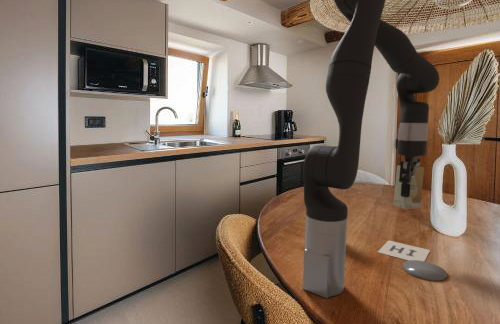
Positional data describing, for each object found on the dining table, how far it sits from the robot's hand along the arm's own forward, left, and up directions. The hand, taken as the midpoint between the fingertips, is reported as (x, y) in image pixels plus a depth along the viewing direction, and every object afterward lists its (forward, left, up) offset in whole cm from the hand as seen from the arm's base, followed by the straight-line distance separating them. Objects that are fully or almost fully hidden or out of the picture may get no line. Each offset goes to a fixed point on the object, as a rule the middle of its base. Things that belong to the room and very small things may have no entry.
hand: (408, 194), depth 87 cm
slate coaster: (-10, -7, -18) cm, 21 cm away
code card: (0, 0, -18) cm, 18 cm away
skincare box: (0, 0, -4) cm, 4 cm away
